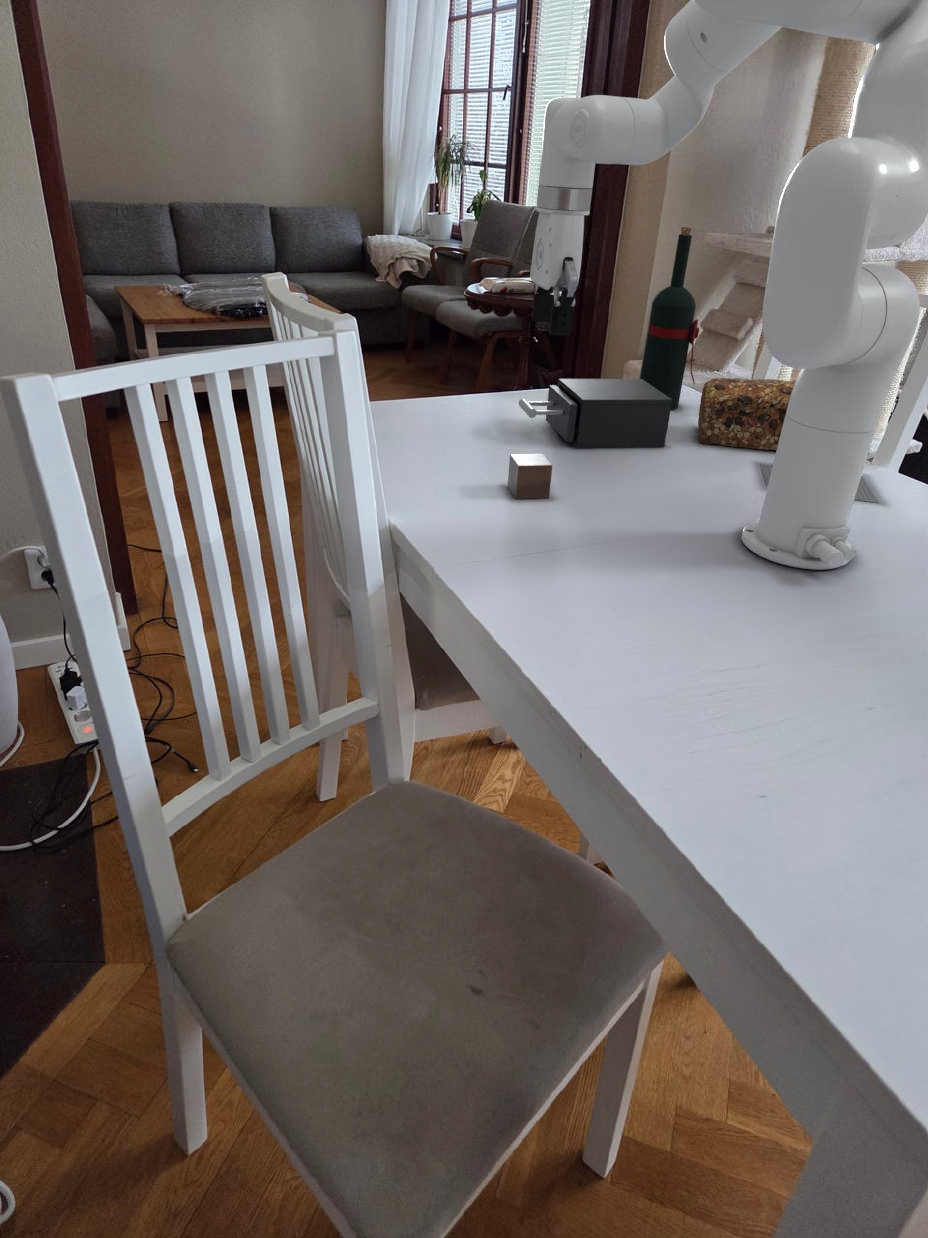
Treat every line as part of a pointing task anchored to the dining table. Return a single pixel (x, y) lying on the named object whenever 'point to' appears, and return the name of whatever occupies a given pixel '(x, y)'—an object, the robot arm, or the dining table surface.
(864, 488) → the architectural model
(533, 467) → the block
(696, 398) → the dining table surface
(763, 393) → the bread
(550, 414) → the drawer
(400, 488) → the dining table surface
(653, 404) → the cabinet
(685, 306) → the wine bottle
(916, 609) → the dining table surface
